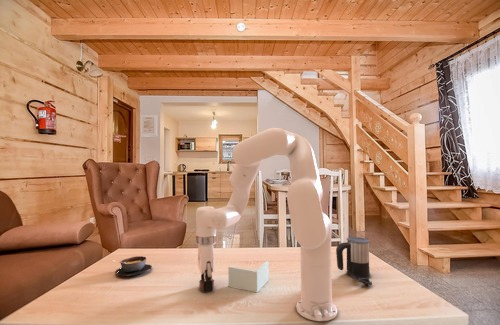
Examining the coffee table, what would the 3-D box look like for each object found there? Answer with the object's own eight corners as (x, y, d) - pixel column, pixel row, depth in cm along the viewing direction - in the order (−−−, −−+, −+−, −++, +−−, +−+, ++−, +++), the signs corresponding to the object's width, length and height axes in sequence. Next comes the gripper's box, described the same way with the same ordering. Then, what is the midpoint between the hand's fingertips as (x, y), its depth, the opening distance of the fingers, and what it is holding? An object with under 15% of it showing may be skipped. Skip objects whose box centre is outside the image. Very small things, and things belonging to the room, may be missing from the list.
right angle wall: (268, 279, 108) (268, 261, 108) (257, 292, 97) (257, 271, 97) (242, 274, 113) (242, 257, 113) (228, 286, 102) (228, 267, 102)
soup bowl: (152, 275, 113) (152, 258, 113) (110, 282, 107) (110, 263, 107) (151, 264, 127) (151, 248, 127) (114, 269, 121) (114, 252, 121)
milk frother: (358, 269, 118) (358, 235, 118) (389, 283, 103) (388, 245, 103) (333, 274, 112) (332, 239, 112) (361, 290, 98) (360, 249, 98)
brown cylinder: (212, 292, 97) (212, 284, 98) (198, 292, 98) (197, 284, 98) (214, 285, 103) (214, 278, 103) (201, 285, 103) (201, 278, 103)
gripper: (193, 235, 108) (194, 280, 107) (199, 246, 91) (199, 300, 91) (211, 233, 110) (212, 277, 110) (220, 244, 94) (221, 296, 93)
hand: (206, 287), depth 100 cm, fingers closed on brown cylinder, 5 cm apart
